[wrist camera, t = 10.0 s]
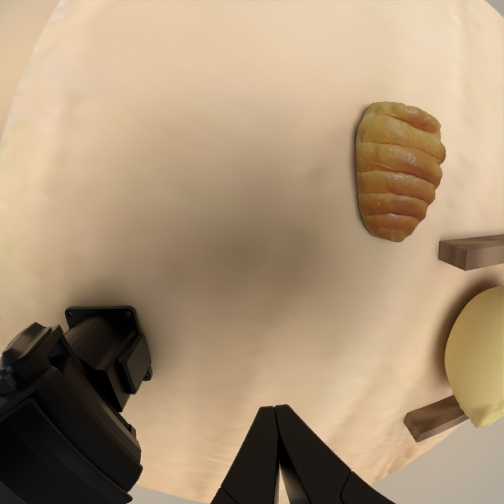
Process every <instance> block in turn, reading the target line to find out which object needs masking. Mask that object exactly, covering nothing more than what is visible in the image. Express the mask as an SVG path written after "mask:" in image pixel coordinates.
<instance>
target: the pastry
mask: <svg viewBox="0 0 504 504" xmlns="http://www.w3.org/2000/svg"><path fill="white" fill-rule="evenodd" d="M440 127H441V125H440V123H439V122H438V120H437V119H436V118H435V117H433V116H432V115H430V114H428V113H427V112H425V111H423V110H421V109H419V108H417V107H413V106H407V105H404V104H402V103H396V102H376V103H372V104H371V105H370V106H369V107H368V109H367V111H366V112H365V115H364V117H363V119H362V120H361V122H360V124H359V126H358V130H357V137H356V143H355V148H356V174H357V186H358V200H359V210H360V213H361V215H362V218H363V221H364V224H365V226H366V227H367V229H368V230H369V231H370V233H371V234H372V235H374V236H377V237H380V238H383V239H388V240H391V241H393V242H401V241H403V240H404V239H405V238H406V237H407V236H409V235H411V234H412V232H413V231H414V230H415V228H416V227H417V225H418V224H419V222H420V221H422V220H423V219H424V218H425V216H426V211H427V207H428V206H429V205H430V204H431V203H432V202H433V201H434V199H435V189H436V188H437V187H438V186H439V184H440V180H441V178H442V170H441V168H440V164H441V163H443V162H444V160H445V157H446V150H445V147H444V146H443V144H442V143H441V141H440V139H441V133H440Z"/></svg>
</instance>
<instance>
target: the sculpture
mask: <svg viewBox="0 0 504 504" xmlns="http://www.w3.org/2000/svg"><path fill="white" fill-rule="evenodd" d="M445 369H446V374H447V377H448V380H449V383H450V385H451V388H452V391H453V393H454V396H455V398H456V400H457V401H458V403H459V406H460V408H461V409H462V410H463V411H464V413H465V414H466V415H467V416H468V417H469V418H471V422H472V423H473V424H474V426H475V427H476V428H484V427H486V426H488V425H490V424H492V423H493V422H495V421H496V420H497V419H499V418H501V417H502V416H504V286H498V287H493V288H490V289H488V290H485V291H483V292H481V293H480V294H478V295H477V296H475V297H474V298H473V299H472V300H470V301H469V302H468V304H467V305H466V306H465V307H464V309H463V310H462V311H461V313H460V314H459V316H458V318H457V320H456V321H455V323H454V325H453V328H452V330H451V332H450V335H449V338H448V341H447V345H446V350H445Z"/></svg>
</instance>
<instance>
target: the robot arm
mask: <svg viewBox="0 0 504 504" xmlns="http://www.w3.org/2000/svg"><path fill="white" fill-rule="evenodd" d="M127 311H128V312H130V313H131V316H130V315H128V314H127ZM70 313H71V314H72V315H71V314H70ZM65 316H66V319H67V323H68V326H69V330H68V331H67V332H66V333H64V332H63V330H62V328H61V326H60V325H56V326H54V327H52V328H51V327H48V328H46V327H43V326H42V325H40V324H38V323H37V322H35V323H33V324H31V325H30V326H28V327H27V328H26V329H24V330H23V331H22V332H21V333H19V334H18V335H17V336H16V337H15V338H14V339H13V340H12V341H11V342H10V344H9V345H8V346H7V347H6V349H5V350H4V351H3V353H2V357H1V359H0V504H127V503H129V502H131V501H132V496H130V495H129V494H128V492H129V491H130V490H131V489H132V487H133V486H134V485H135V483H136V482H137V481H138V479H139V477H140V475H141V473H142V470H143V466H142V465H141V464H140V459H141V448H140V445H139V442H138V441H137V439H136V430H135V429H134V427H133V426H132V425H131V424H128V423H127V422H126V420H125V419H124V418H123V417H122V416H121V415H120V413H119V412H122V411H123V409H124V407H125V405H126V403H127V401H128V399H129V396H130V394H133V395H135V394H136V392H137V391H138V389H139V387H140V385H141V382H142V381H149V380H151V377H152V371H151V368H150V363H151V360H150V356H149V353H148V349H147V345H146V341H145V338H144V335H143V334H142V333H141V331H140V327H139V323H138V319H137V315H136V311H135V309H134V308H132V307H131V306H115V307H69V308H68V309H66V310H65ZM63 333H64V334H63ZM145 374H147V375H148V376H146V375H145ZM279 464H280V466H279ZM280 470H281V474H282V477H283V481H284V485H285V488H286V492H287V495H288V498H289V502H290V504H395V503H394V502H392V501H391V500H389V499H387V498H386V497H384V496H383V495H381V494H380V493H379V492H377V491H376V490H374V489H373V488H372V487H371V486H369V485H368V484H367V483H366V482H365V481H363V480H362V479H361V478H360V477H359V476H358V475H357V474H356V473H355V472H354V471H351V469H350V468H349V467H348V466H347V465H346V464H345V463H344V462H343V461H342V460H341V459H340V458H339V457H338V456H337V455H336V454H335V453H334V452H333V451H332V450H331V449H330V448H329V447H328V446H327V445H326V444H325V443H324V442H323V441H322V440H321V439H320V438H319V437H318V436H317V435H316V434H315V433H314V432H313V431H312V430H311V429H310V428H309V427H308V426H307V424H306V423H305V422H304V421H303V420H302V419H301V418H300V417H299V416H298V415H297V414H296V413H295V412H294V411H293V409H292V408H291V407H290V406H289V405H287V404H284V405H276V406H275V407H273V406H265V407H260V408H259V410H258V412H257V414H256V417H255V419H254V421H253V423H252V425H251V427H250V429H249V431H248V433H247V436H246V438H245V440H244V442H243V444H242V446H241V448H240V450H239V452H238V454H237V456H236V458H235V460H234V462H233V463H232V465H231V467H230V469H229V471H228V473H227V475H226V477H225V479H224V481H223V482H222V484H221V488H219V490H218V491H217V493H216V495H215V497H214V498H213V500H212V502H211V503H210V504H278V501H279V477H280Z"/></svg>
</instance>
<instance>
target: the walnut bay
mask: <svg viewBox="0 0 504 504" xmlns="http://www.w3.org/2000/svg"><path fill="white" fill-rule="evenodd" d="M439 260H441V261H444V262H446V263H448V264H451V265H453V266H455V267H458V268H460V269H462V270H464V271H467V270H472V269H477V268H482V267H487V266H492V265H497V264H501V263H504V235H497V236H488V237H478V238H468V239H458V240H447V241H440V246H439ZM467 419H469V417H468V416H467V415H466V414H465V413H464V411H463V410H462V409H461V408H460V406H459V403H458V401H457V400H456V398H455V396H454V395H453V396H451V397H449V398H446V399H444V400H441V401H439V402H437V403H434V404H432V405H429V406H427V407H424V408H421V409H419V410H416V411H413V412H410V413H407V415H406V418H405V421H404V424H405V425H406V427H407V428H408V430H409V432H410V433H411V435H412V436H413V438H414V439H415V441H416V443H417V442H420V441H422V440H425V439H427V438H429V437H432V436H434V435H436V434H439V433H441V432H443V431H445V430H447V429H449V428H451V427H453V426H455V425H457V424H459V423H461V422H463V421H465V420H467Z"/></svg>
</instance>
